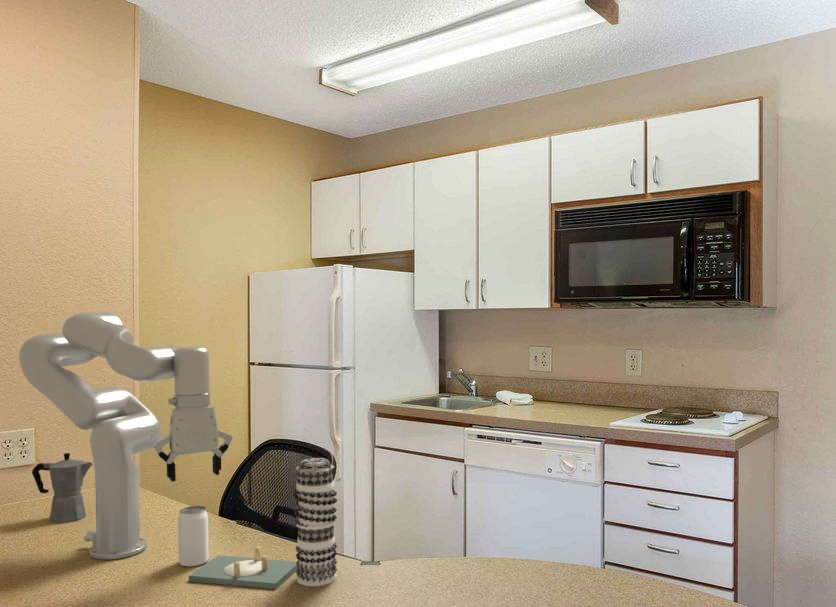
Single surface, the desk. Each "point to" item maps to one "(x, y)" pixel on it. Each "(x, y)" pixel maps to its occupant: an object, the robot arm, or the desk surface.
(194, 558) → the can
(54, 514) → the coffeepot
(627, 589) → the desk surface
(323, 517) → the decorative candle
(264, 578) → the green board with pegs
